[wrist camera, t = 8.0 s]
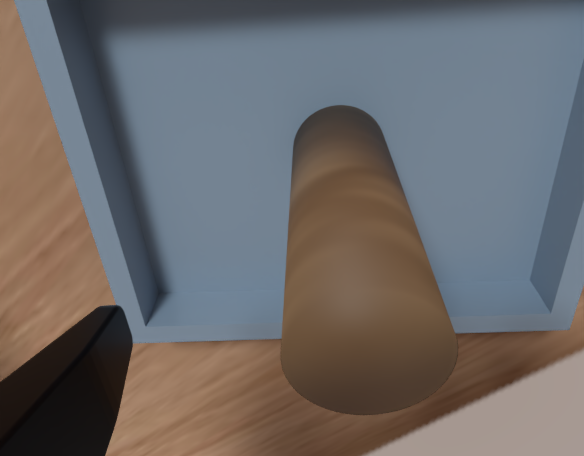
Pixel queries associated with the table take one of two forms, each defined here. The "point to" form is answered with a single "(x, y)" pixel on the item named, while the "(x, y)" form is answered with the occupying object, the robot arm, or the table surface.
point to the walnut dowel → (358, 276)
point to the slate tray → (280, 138)
